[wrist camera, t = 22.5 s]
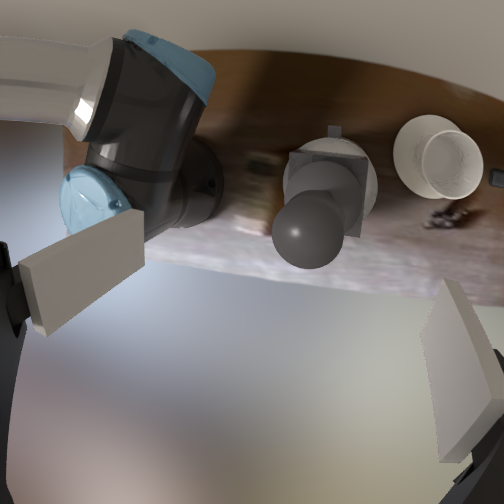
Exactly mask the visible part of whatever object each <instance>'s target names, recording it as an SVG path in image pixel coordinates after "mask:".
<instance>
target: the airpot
mask: <svg viewBox="0 0 504 504" xmlns="http://www.w3.org/2000/svg"><path fill="white" fill-rule="evenodd" d="M341 132H342V127H341V126H332V125H328V135H327V137H326V138H321V139H317V140H313V141H311V142H308V143H306V144H305V145H303V146H302V147H300V148H299V149H298V150H295V151H292V152H289V161H288V163H287V166H286V168H285V171H284V176H283V190H284V195H285V190H286V187H287V184H288V182H289V180H290V179H291V177H292V176H293V175H294V174H295V173H296V172H297V171H298V170H299V169H300V168H302V167H303V166H305V165H307V164H309V163H311V162H314V161H320V160H328V161H333V162H336V163H339V164H341V165H343V166H344V167H346V168H347V169H348V170H350V171H351V172H352V174H353V175H354V176H355V177H356V179H357V181H358V183H359V185H360V188H361V193H362V209H361V213H360V216H359V218H358V220H357V222H356V223H355V225H354V226H353V227H352V228H351V229H350V230H349V231H347V232H346V233H344V235H345V236H352V237H359V238H360V233H361V225H362V221H363V220H364V219H365V218H366V217H367V215H368V214H369V213H370V211H371V210H372V208H373V206H374V204H375V201H376V197H377V191H378V183H377V176H376V172H375V170H374V167H373V165H372V163H371V161H370V160H369V158H368V156H367V155H366V153H365V151H364V150H363V149H362V148H361V147H360V146H359V145H358V144H357V143H355V142H354V141H352V140H350V139H348V138H344V137H341Z"/></svg>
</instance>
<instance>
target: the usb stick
mask: <svg viewBox="0 0 504 504" xmlns="http://www.w3.org/2000/svg"><path fill="white" fill-rule="evenodd" d="M489 183H490V185H491V186H495V187H500V188H504V171H500V170H496V169H492V170H491V171H490V177H489Z"/></svg>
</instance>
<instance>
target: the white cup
mask: <svg viewBox="0 0 504 504" xmlns="http://www.w3.org/2000/svg"><path fill="white" fill-rule="evenodd" d="M412 161H413V164H414V168H415V169H416V171H417V172H418V174H419V175H420V176H421V178H422V179H423V180H424V181H425V182H426V183H427V184H428V185H429V186H430V187H431V189H432V190H433V191H434V192H436V193H437V194H438V195H440V196H442V197H445V198H448V199H460V198H464V197H466V196H468V195H469V194H471V193H472V192H473V191H474V190H475V189H476V188H477V186H478V185H479V183H480V181H481V178H482V174H483V159H482V155H481V152H480V150H479V148H478V146H477V144H476V143H475V142H474V141H473V139H472V138H470V137H469V136H468V135H466V134H465V133H463V132H460V131H457V130H444V131H437V132H432V133H429V134H426V135H424V136H423V137H421V138H419V139H418V140H417V142H416V143H415V145H414V147H413V150H412Z"/></svg>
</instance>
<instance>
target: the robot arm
mask: <svg viewBox="0 0 504 504" xmlns="http://www.w3.org/2000/svg"><path fill="white" fill-rule="evenodd" d="M215 78H216V74H215V70H214V68H213V67H212V66H211V65H210V64H209V63H208V62H207V61H205V60H204V59H202V58H201V57H199V56H197V55H195V54H194V53H192V52H190V51H188V50H186V49H184V48H182V47H180V46H178V45H175V44H173V43H171V42H169V41H166V40H164V39H161V38H158V37H156V36H153V35H151V34H149V33H146V32H143V31H139V30H135V29H131V30H129V31H127V33H126V34H124V35H123V40H121V39H117V38H112V37H106V38H104V39H102V40H100V41H99V42H97V43H95V44H93V45H91V46H80V45H75V44H69V43H63V42H56V41H49V40H41V39H32V38H22V37H10V36H0V119H1V120H16V121H30V122H42V123H52V124H61V125H65V126H67V127H68V128H69V130H70V131H71V133H72V134H73V136H74V137H75V138H76V140H77V141H82V142H90V143H89V146H88V150H87V154H86V159H85V163H84V165H80V166H77V167H75V168H74V169H73V170H72V171H71V172H70V173H68V174H67V175H66V176H65V178H64V179H63V182H62V184H61V188H60V195H59V196H60V197H59V198H60V199H59V200H60V209H61V214H62V217H63V220H64V223H65V225H66V227H67V229H68V231H69V233H70V235H71V236H69V237H67V238H65V239H63V240H61V241H58V242H56V243H54V244H52V245H50V246H48V247H46V248H44V249H42V250H40V251H38V252H36V253H34V254H32V255H30V256H28V257H27V258H25V259H23V260H21V261H19V262H18V265H16V266H14V267H11V262H10V257H9V251H8V246H7V244H6V243H5V242H2V241H0V504H14V502H13V499H12V496H11V494H10V492H9V490H8V488H7V484H6V460H7V444H8V432H9V423H10V414H11V407H12V399H13V393H14V387H15V381H16V376H17V370H18V365H19V361H20V355H21V351H22V347H23V342H24V338H25V334H26V330H27V325H26V322H25V320H26V319H27V318H29V317H30V316H31V319H32V323H33V326H34V329H35V330H36V331H37V332H39V333H41V334H42V335H44V336H46V337H48V336H49V335H51V334H52V333H53V332H54V331H56V330H57V329H58V328H59V327H61V326H62V325H64V324H65V323H66V322H68V321H69V320H70V319H72V318H73V317H74V316H76V315H77V314H78V313H80V312H81V311H82V310H84V309H85V308H86V307H88V306H89V305H90V304H92V303H93V302H94V301H96V300H97V299H98V298H100V297H101V296H102V295H104V294H105V293H107V292H108V291H109V290H111V289H112V288H114V287H115V286H116V285H118V284H119V283H121V282H122V281H123V280H125V279H126V278H127V277H129V276H130V275H132V274H133V273H134V272H136V271H137V270H139V269H140V268H142V267H143V266H144V265H145V259H144V243H145V242H147V241H149V240H150V239H152V238H154V237H155V236H157V235H159V234H160V233H162V232H164V231H165V230H167V229H169V228H189V227H192V226H195V225H197V224H199V223H201V222H203V221H204V220H206V219H207V218H208V217H210V216H211V215H212V214H213V213H214V211H215V210H216V209H217V207H218V205H219V203H220V201H221V198H222V193H223V175H222V170H221V167H220V165H219V162H218V160H217V159H216V157H215V155H214V154H213V153H212V152H211V150H210V149H209V148H207V147H206V146H205V145H204V144H202V143H201V142H199V141H197V140H194V139H192V137H193V135H194V132H195V130H196V127H197V125H198V122H199V120H200V118H201V115H202V113H203V111H204V108H205V107H207V105H208V98H209V95H210V92H211V90H212V87H213V85H214V82H215ZM420 336H421V341H422V345H423V350H424V355H425V360H426V365H427V371H428V376H429V382H430V388H431V395H432V401H433V408H434V416H435V424H436V433H437V443H438V453H439V462H440V463H461V462H462V461H463V460H464V459H465V458H466V456H468V454H469V453H470V452H472V459H473V462H472V463H471V464H470V465H469V466H468V467H467V468H466V469H465V470H464V471H463V472H462V473H461V474H460V475H459V476H458V477H457V478H456V479H454V480H453V482H454V483H455V484H454V486H453V487H452V488H451V489H450V491H449V492H448V493H447V494H446V496H445V497H444V498H443V499H442V500H441V502H440V503H439V504H504V357H503V356H502V355H501V354H500V352H499V351H498V350H497V349H493V348H492V346H491V344H490V341H489V340H488V337H487V335H486V333H485V331H484V329H483V327H482V325H481V323H480V321H479V319H478V317H477V315H476V313H475V311H474V309H473V307H472V305H471V303H470V301H469V300H468V298H467V296H466V294H465V292H464V290H463V289H462V287H461V285H460V283H459V282H457V281H453V280H449V279H445V278H443V279H442V282H441V285H440V287H439V290H438V293H437V295H436V298H435V300H434V303H433V305H432V308H431V310H430V313H429V315H428V318H427V320H426V322H425V324H424V327H423V329H422V331H421V333H420Z"/></svg>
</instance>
